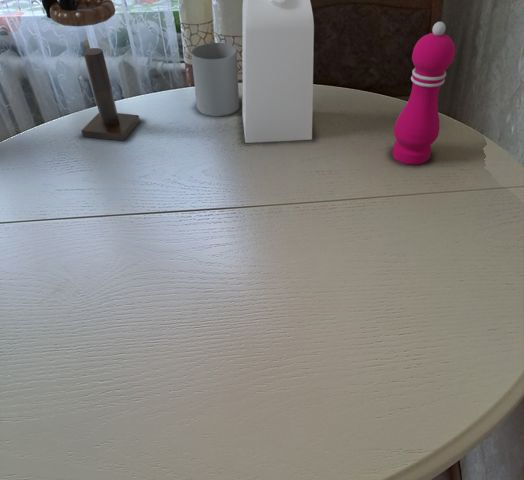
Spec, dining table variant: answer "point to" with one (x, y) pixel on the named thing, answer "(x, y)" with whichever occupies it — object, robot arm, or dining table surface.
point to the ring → (83, 13)
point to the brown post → (105, 103)
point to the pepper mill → (423, 98)
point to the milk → (277, 70)
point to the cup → (216, 78)
